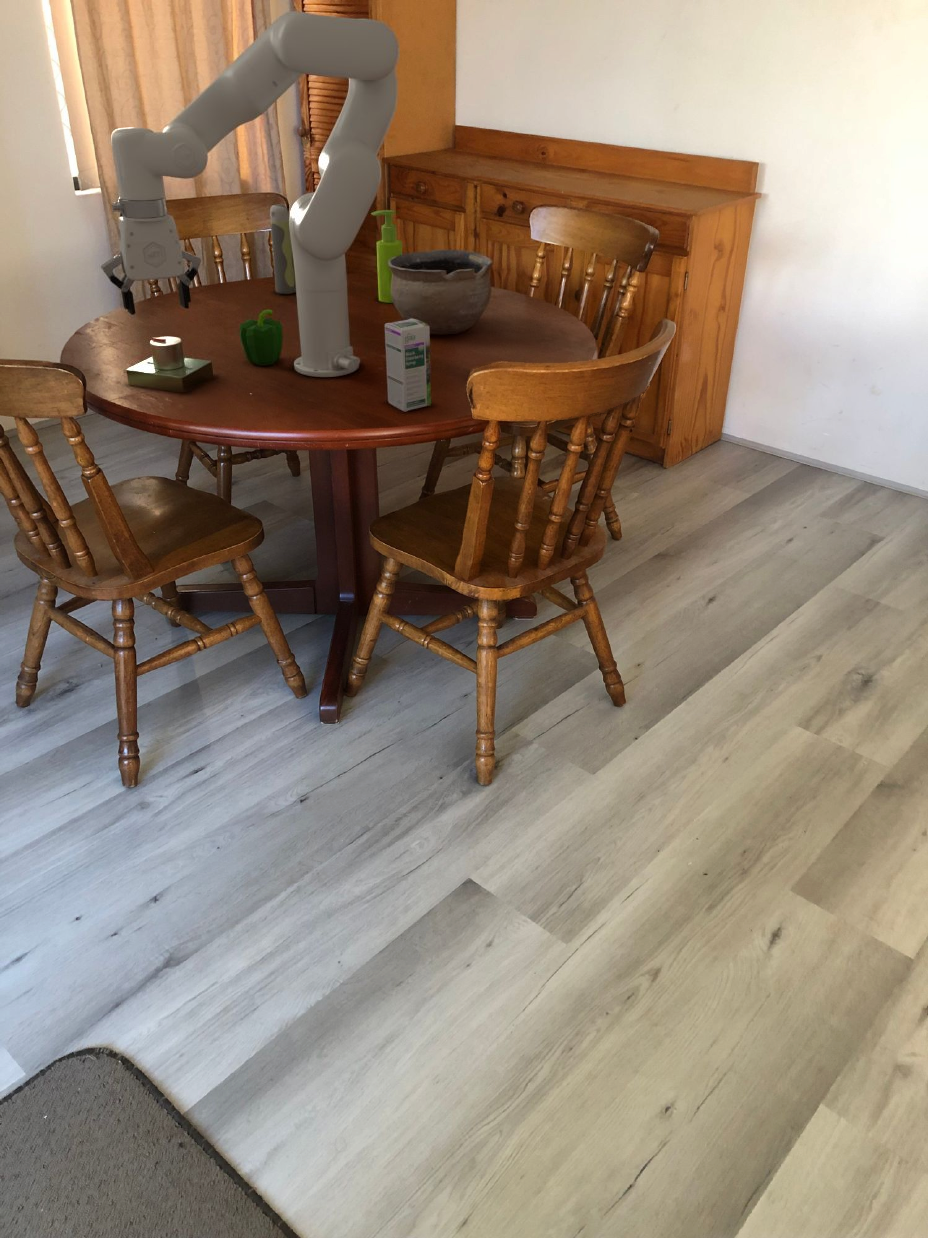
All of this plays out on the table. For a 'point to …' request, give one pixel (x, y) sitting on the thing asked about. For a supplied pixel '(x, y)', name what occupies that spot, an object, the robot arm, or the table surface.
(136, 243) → the robot arm
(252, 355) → the bell pepper
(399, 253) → the soap dispenser
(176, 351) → the dial
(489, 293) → the ceramic bowl
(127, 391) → the table surface
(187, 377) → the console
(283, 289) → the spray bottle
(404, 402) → the syrup box
